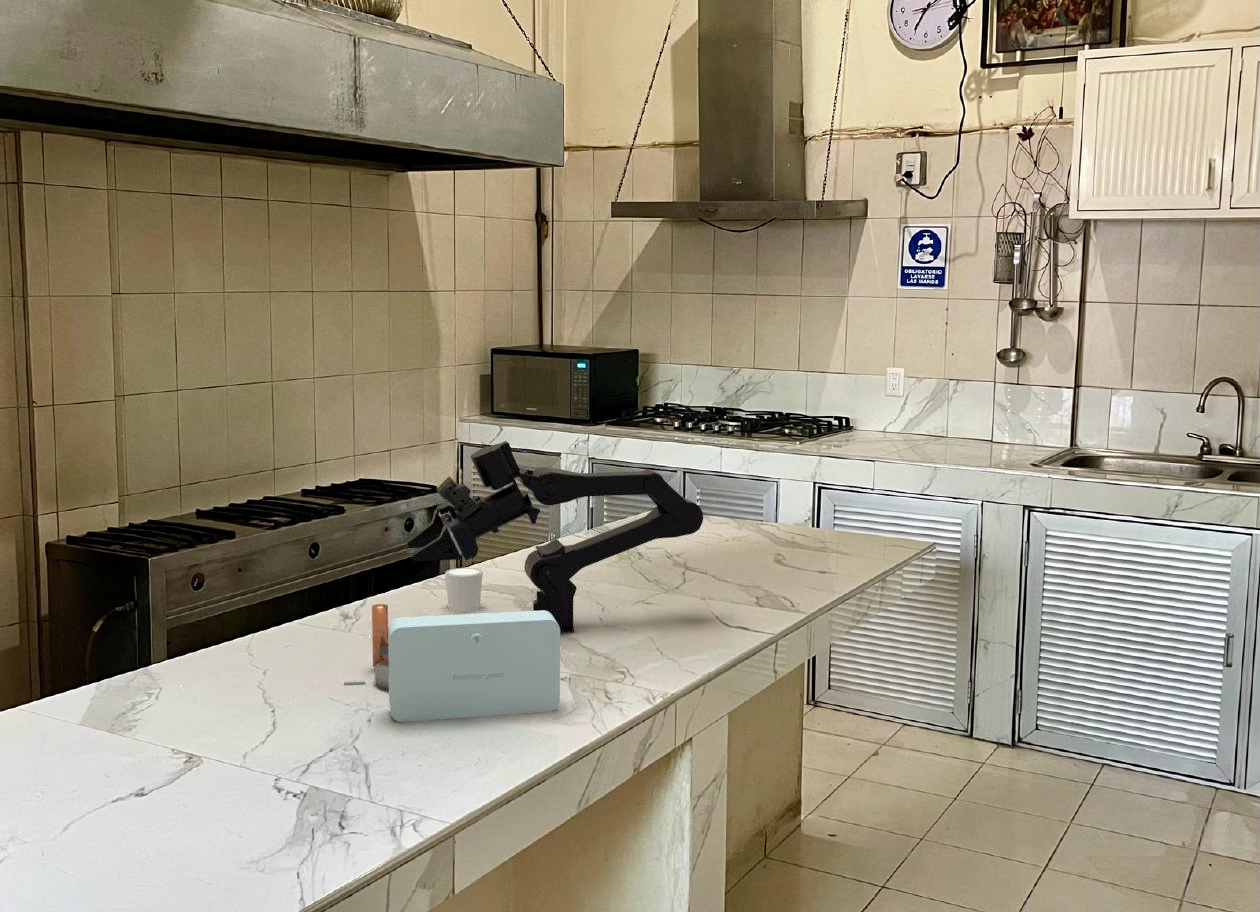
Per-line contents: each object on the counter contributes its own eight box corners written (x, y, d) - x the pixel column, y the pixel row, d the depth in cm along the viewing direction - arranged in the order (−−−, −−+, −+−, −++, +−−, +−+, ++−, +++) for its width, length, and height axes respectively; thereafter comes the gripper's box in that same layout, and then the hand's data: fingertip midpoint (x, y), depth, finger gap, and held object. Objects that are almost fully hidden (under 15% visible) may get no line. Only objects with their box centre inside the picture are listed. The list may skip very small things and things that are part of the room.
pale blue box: (391, 725, 163) (389, 629, 162) (389, 710, 169) (387, 618, 167) (560, 713, 169) (561, 620, 167) (553, 699, 174) (554, 609, 173)
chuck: (444, 670, 186) (444, 626, 185) (441, 692, 177) (441, 645, 176) (378, 671, 185) (377, 627, 184) (371, 693, 175) (371, 647, 174)
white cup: (476, 614, 218) (475, 576, 217) (439, 612, 219) (439, 574, 218) (487, 605, 225) (487, 568, 224) (452, 602, 226) (452, 566, 225)
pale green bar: (365, 682, 180) (365, 680, 180) (364, 684, 180) (364, 682, 180) (344, 683, 180) (344, 681, 180) (344, 684, 179) (344, 682, 179)
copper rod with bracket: (407, 673, 183) (406, 612, 182) (393, 676, 182) (392, 614, 180) (383, 662, 188) (382, 603, 187) (369, 665, 187) (368, 605, 185)
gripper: (467, 460, 211) (385, 499, 208) (484, 478, 193) (394, 521, 191) (493, 515, 214) (413, 555, 211) (512, 538, 196) (424, 582, 193)
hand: (410, 552), depth 201 cm, fingers open, 9 cm apart
